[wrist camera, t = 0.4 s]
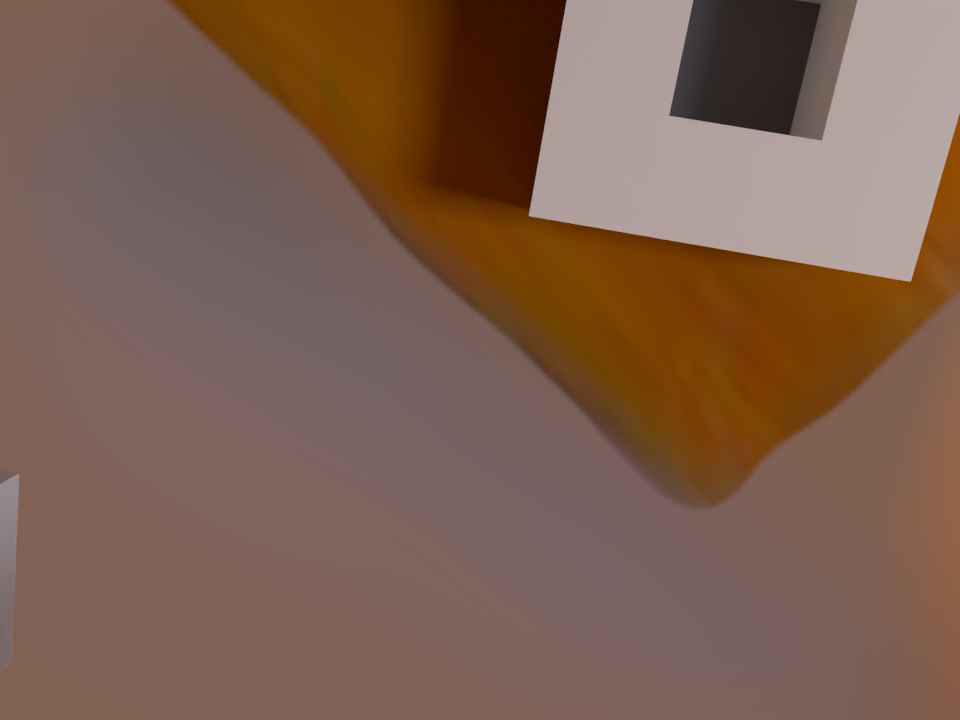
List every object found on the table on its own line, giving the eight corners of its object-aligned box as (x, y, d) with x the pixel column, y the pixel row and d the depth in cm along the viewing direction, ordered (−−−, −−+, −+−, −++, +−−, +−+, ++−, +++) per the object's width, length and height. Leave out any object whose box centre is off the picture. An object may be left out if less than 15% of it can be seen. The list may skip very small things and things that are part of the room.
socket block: (596, -150, 32) (602, -207, 27) (960, -96, 31) (1034, -146, 26) (533, 210, 35) (528, 215, 30) (861, 266, 35) (910, 281, 30)
